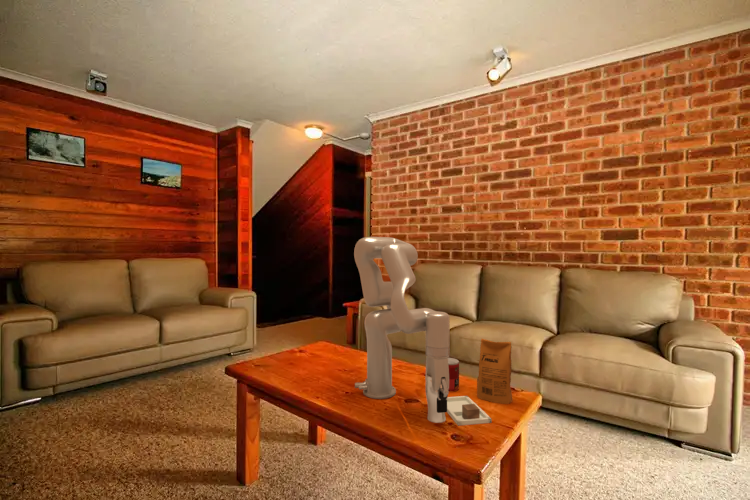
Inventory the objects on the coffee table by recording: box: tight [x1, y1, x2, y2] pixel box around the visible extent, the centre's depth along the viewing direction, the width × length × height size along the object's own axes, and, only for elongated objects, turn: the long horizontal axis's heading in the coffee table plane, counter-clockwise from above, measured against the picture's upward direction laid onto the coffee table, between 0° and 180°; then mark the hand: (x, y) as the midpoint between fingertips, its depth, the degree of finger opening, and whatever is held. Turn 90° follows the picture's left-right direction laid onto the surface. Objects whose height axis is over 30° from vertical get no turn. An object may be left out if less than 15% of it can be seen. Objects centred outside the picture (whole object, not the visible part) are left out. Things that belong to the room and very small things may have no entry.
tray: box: [446, 395, 492, 426], centre depth 121 cm, size 11×18×2 cm, turn 10°
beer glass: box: [425, 373, 447, 424], centre depth 116 cm, size 7×7×15 cm
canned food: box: [448, 357, 460, 392], centre depth 144 cm, size 8×8×11 cm
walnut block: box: [462, 403, 480, 419], centre depth 115 cm, size 4×4×4 cm
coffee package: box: [476, 338, 513, 405], centre depth 132 cm, size 10×12×22 cm
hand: (437, 406), depth 116 cm, fingers closed on beer glass, 6 cm apart
